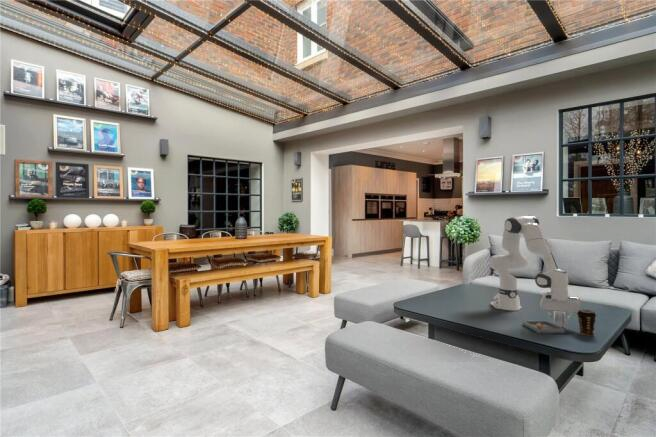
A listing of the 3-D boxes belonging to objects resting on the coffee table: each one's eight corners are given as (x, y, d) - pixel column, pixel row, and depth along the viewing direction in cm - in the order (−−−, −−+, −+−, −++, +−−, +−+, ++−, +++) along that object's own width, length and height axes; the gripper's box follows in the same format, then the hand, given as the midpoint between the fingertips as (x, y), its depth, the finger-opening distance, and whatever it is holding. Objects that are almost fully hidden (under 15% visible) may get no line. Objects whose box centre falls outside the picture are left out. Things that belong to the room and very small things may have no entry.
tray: (522, 325, 213) (522, 320, 213) (546, 324, 214) (546, 320, 214) (538, 333, 197) (538, 329, 197) (564, 333, 198) (564, 329, 198)
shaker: (554, 324, 215) (553, 311, 215) (564, 325, 212) (564, 312, 212) (554, 326, 209) (554, 313, 209) (565, 328, 207) (565, 314, 207)
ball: (540, 328, 203) (534, 325, 205) (541, 329, 205) (535, 326, 207) (542, 324, 203) (537, 321, 205) (543, 324, 205) (538, 322, 207)
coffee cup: (588, 331, 201) (588, 308, 201) (600, 336, 193) (600, 312, 193) (574, 331, 201) (573, 309, 201) (585, 336, 192) (585, 313, 192)
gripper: (579, 296, 208) (579, 319, 208) (539, 293, 218) (540, 315, 218) (581, 298, 203) (581, 322, 203) (540, 295, 213) (540, 317, 213)
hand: (559, 318), depth 211 cm, fingers open, 8 cm apart
